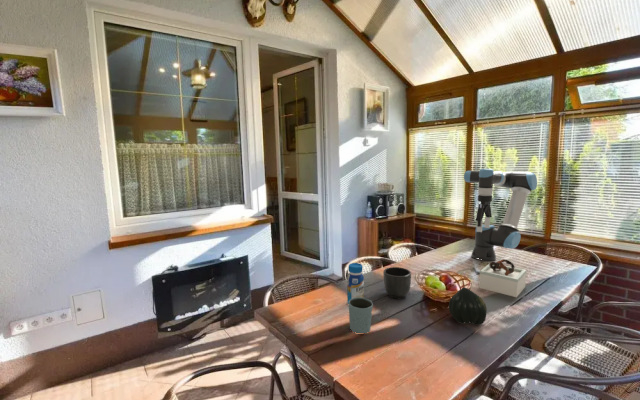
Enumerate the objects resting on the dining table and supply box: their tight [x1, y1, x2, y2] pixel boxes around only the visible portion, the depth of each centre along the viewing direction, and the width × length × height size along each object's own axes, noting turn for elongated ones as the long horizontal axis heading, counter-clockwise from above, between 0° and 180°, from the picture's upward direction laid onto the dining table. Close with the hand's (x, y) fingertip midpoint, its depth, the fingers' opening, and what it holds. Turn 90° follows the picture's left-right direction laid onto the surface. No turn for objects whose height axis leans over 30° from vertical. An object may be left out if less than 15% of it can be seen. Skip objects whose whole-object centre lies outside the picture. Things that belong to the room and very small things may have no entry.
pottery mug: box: [488, 258, 516, 276], centre depth 173 cm, size 12×10×8 cm
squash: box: [448, 286, 488, 326], centre depth 140 cm, size 14×15×15 cm
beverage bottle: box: [346, 262, 365, 305], centre depth 157 cm, size 8×8×20 cm
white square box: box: [478, 262, 527, 298], centre depth 174 cm, size 18×18×10 cm
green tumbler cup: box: [347, 297, 374, 334], centre depth 134 cm, size 10×10×12 cm
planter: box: [383, 266, 412, 299], centre depth 166 cm, size 14×14×13 cm
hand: (483, 229), depth 193 cm, fingers open, 13 cm apart
